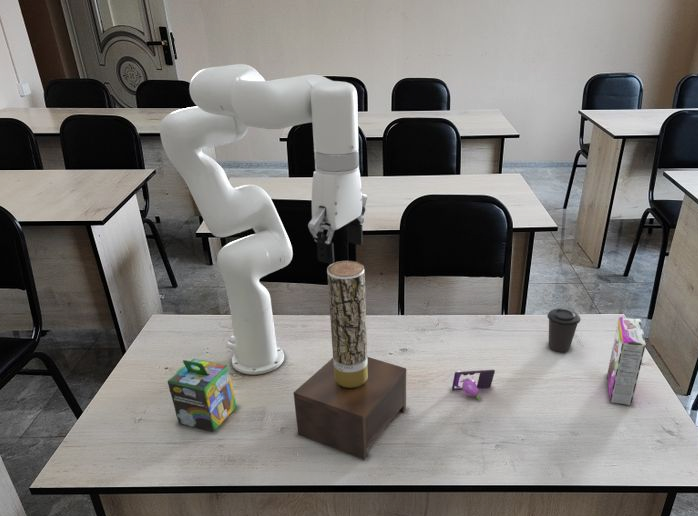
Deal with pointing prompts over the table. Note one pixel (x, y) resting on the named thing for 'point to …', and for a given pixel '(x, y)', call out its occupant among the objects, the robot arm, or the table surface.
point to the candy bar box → (625, 360)
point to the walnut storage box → (350, 407)
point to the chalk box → (202, 394)
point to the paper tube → (348, 322)
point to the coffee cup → (562, 329)
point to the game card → (469, 384)
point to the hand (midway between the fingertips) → (341, 252)
